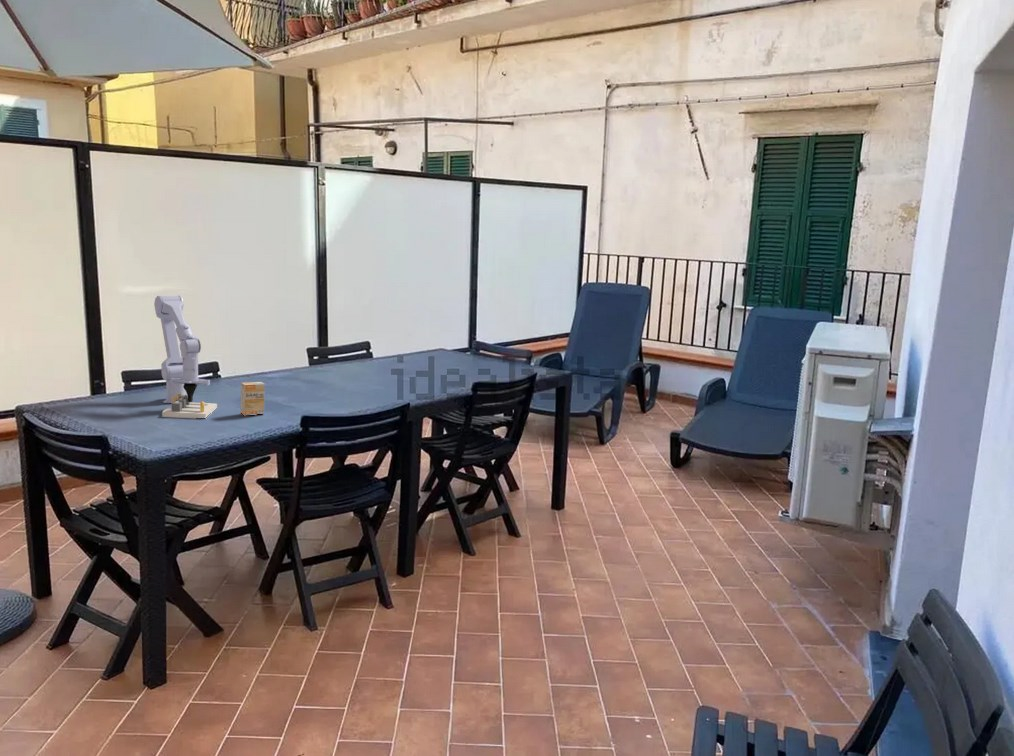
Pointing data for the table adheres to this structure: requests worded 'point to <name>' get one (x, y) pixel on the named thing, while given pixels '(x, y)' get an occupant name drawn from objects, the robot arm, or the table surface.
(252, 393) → the supplement box
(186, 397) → the rear knob
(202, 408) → the switch panel
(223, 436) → the table surface
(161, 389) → the table surface
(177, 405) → the front knob
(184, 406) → the middle knob
